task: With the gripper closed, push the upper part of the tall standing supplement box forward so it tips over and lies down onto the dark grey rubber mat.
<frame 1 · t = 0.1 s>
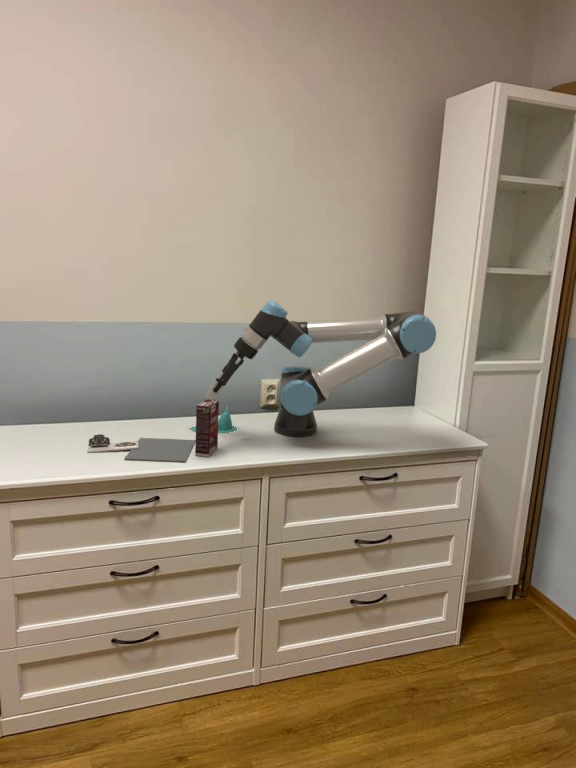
hand: (210, 394, 198), 15 cm above the table, tool tilted 35°, fingers open, 13 cm apart
diorama: (213, 430, 213), on the table
supplement box: (206, 452, 188), on the table
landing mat: (161, 450, 188), on the table
car cutout: (113, 448, 188), on the table, touching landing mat
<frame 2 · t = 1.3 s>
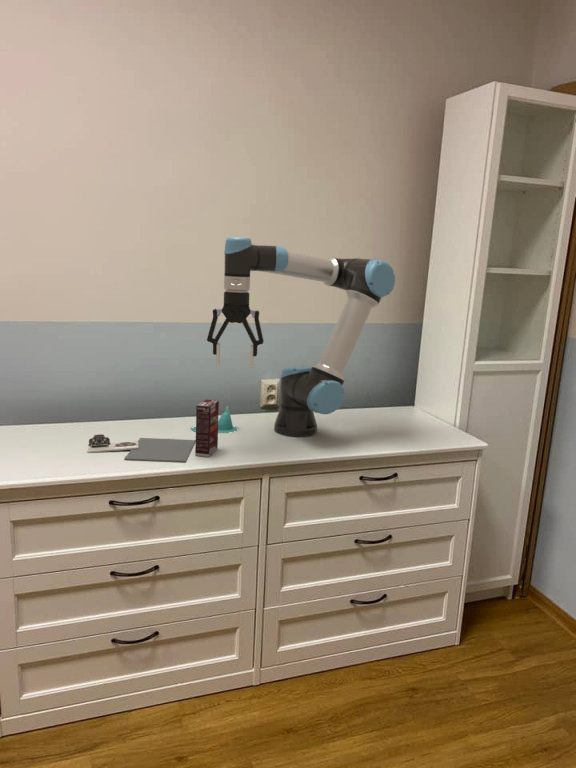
hand: (234, 366, 182), 28 cm above the table, tool pointing down, fingers open, 9 cm apart
nothing on the table moved.
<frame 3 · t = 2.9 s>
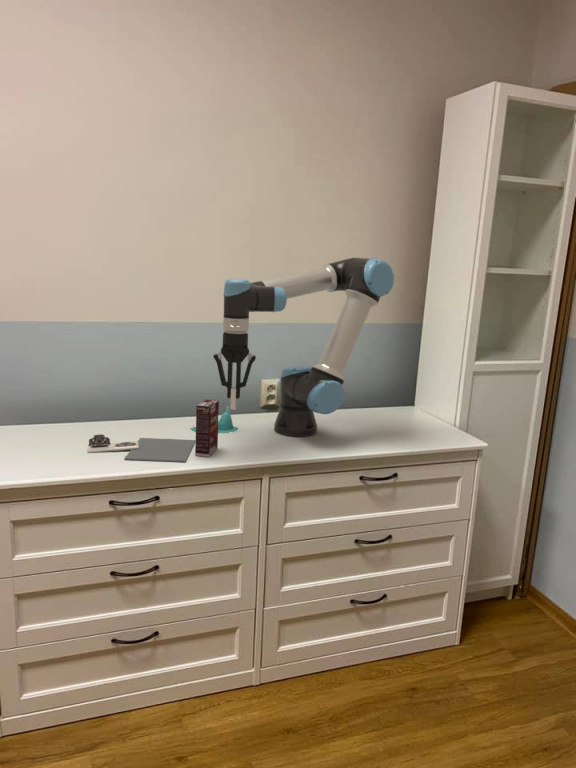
hand: (233, 408, 185), 14 cm above the table, tool pointing down, fingers closed
nothing on the table moved.
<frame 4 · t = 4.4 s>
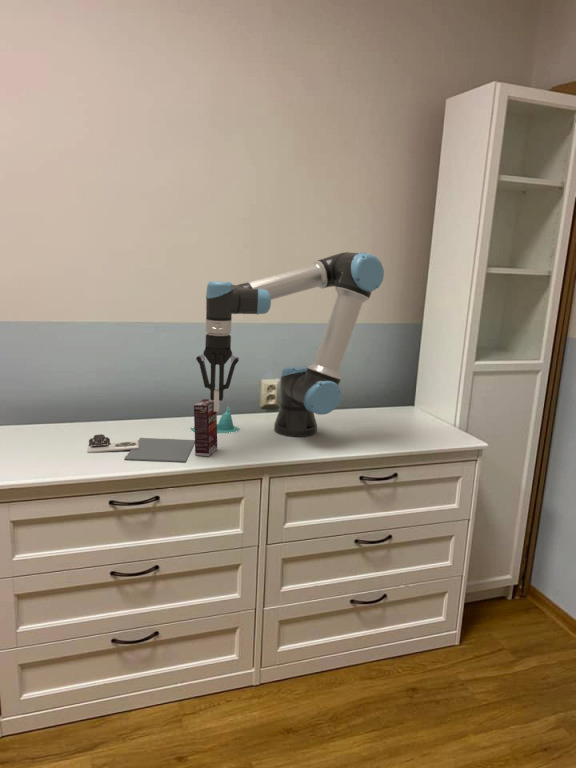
hand: (216, 410, 185), 14 cm above the table, tool pointing down, fingers closed
nothing on the table moved.
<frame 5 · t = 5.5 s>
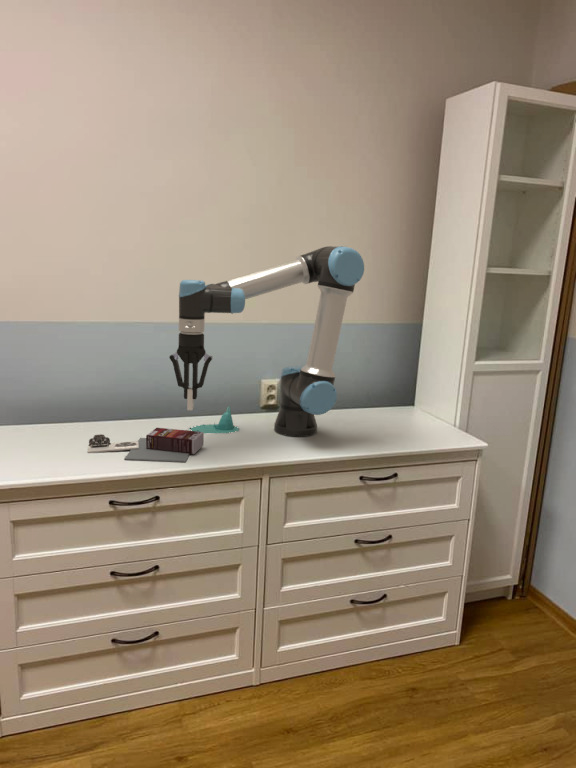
hand: (190, 409, 185), 14 cm above the table, tool pointing down, fingers closed
supplement box: (200, 442, 188), point 3 cm above the table, touching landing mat
everything else where it was.
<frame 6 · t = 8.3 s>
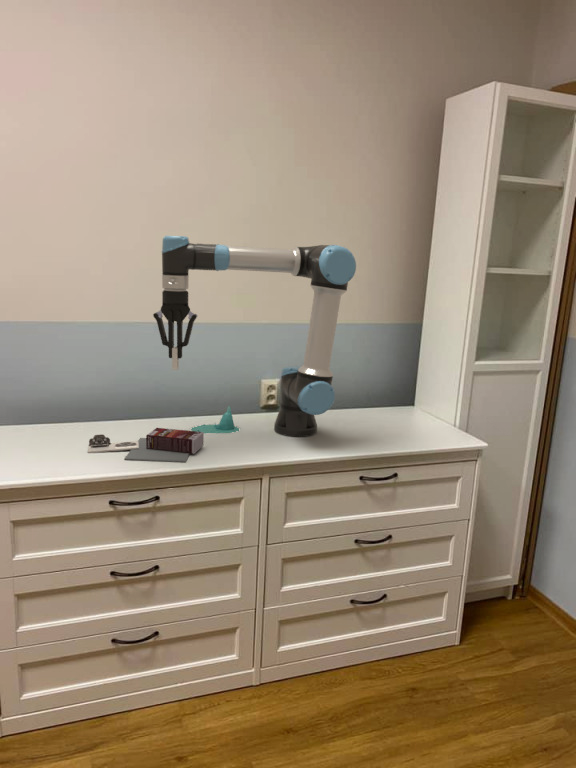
hand: (175, 368, 182), 26 cm above the table, tool pointing down, fingers closed
nothing on the table moved.
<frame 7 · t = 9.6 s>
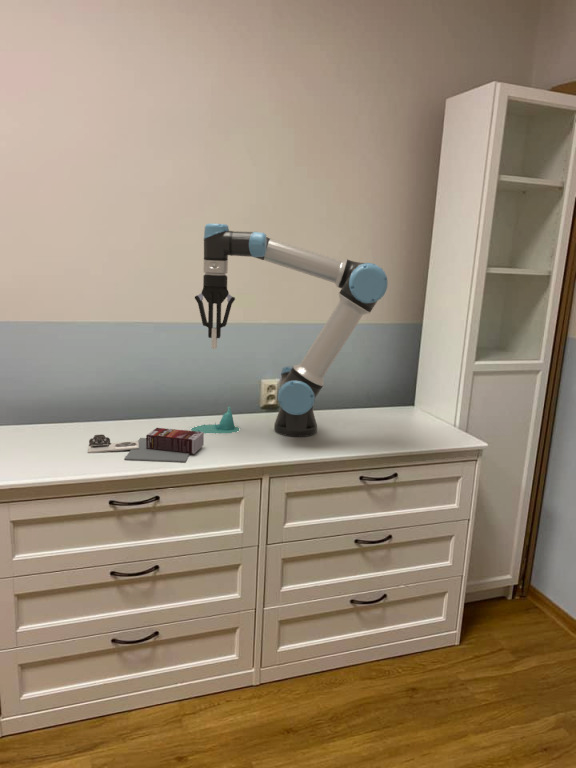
hand: (214, 347, 196), 30 cm above the table, tool pointing down, fingers closed
nothing on the table moved.
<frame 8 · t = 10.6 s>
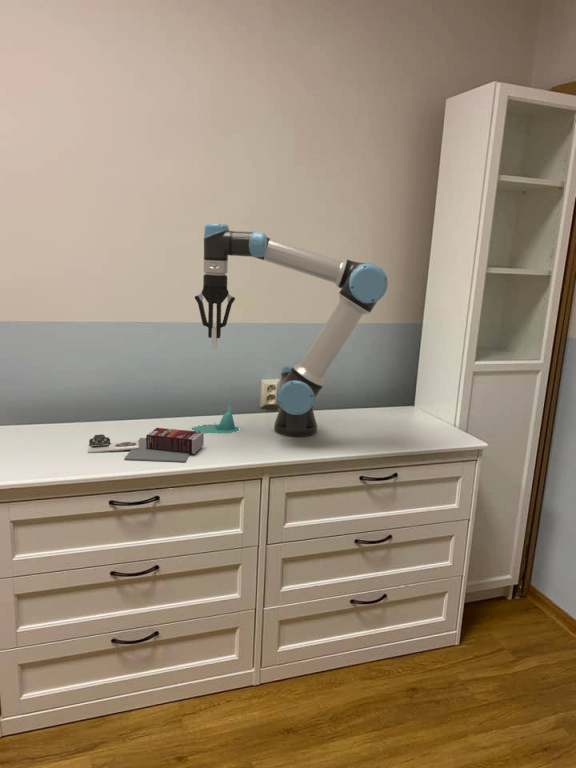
hand: (214, 347, 196), 30 cm above the table, tool pointing down, fingers closed
nothing on the table moved.
at the end: supplement box tilted 91°; supplement box inside the target area (6.3 cm from its centre), point 3.0 cm above the table; the gripper is holding nothing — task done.
